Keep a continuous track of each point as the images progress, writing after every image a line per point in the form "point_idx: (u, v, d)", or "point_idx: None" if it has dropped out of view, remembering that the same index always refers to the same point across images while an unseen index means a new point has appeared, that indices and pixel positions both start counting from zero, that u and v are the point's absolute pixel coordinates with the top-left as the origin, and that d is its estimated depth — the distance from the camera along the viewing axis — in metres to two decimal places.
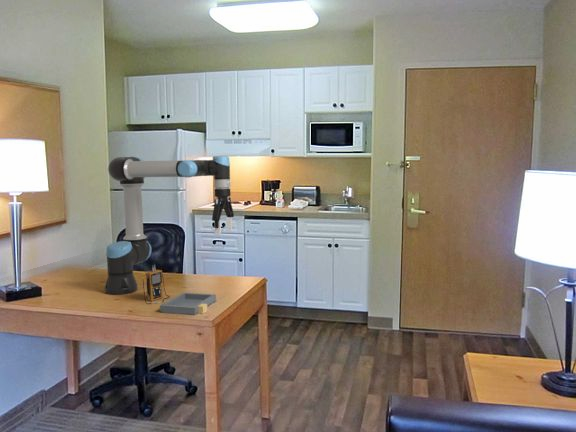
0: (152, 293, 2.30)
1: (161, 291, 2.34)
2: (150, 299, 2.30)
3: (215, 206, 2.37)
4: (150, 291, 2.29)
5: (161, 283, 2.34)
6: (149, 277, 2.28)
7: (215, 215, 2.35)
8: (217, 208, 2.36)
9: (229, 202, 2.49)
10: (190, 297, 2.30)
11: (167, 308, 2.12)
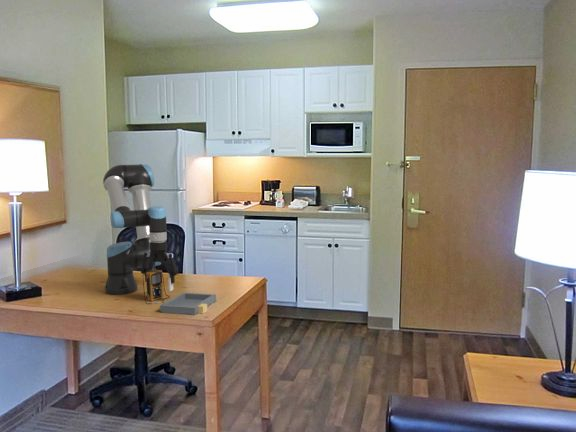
0: (152, 293, 2.30)
1: (161, 291, 2.34)
2: (150, 299, 2.30)
3: None
4: (150, 291, 2.29)
5: (161, 283, 2.34)
6: (149, 277, 2.28)
7: None
8: None
9: (169, 259, 2.27)
10: (190, 297, 2.30)
11: (167, 308, 2.12)
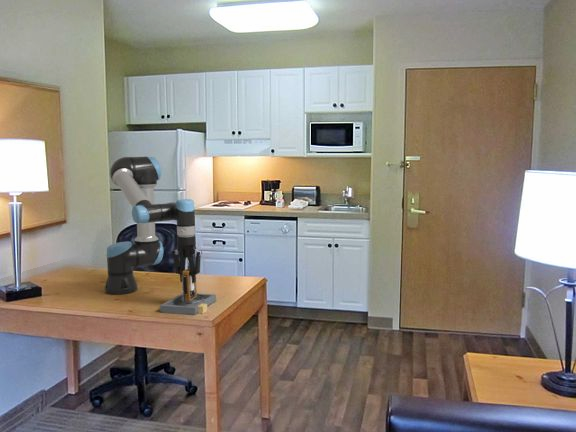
0: (189, 292, 2.18)
1: (195, 290, 2.24)
2: (187, 299, 2.18)
3: None
4: (188, 290, 2.17)
5: (195, 282, 2.23)
6: (187, 276, 2.17)
7: None
8: None
9: (196, 256, 2.16)
10: None
11: (167, 308, 2.12)
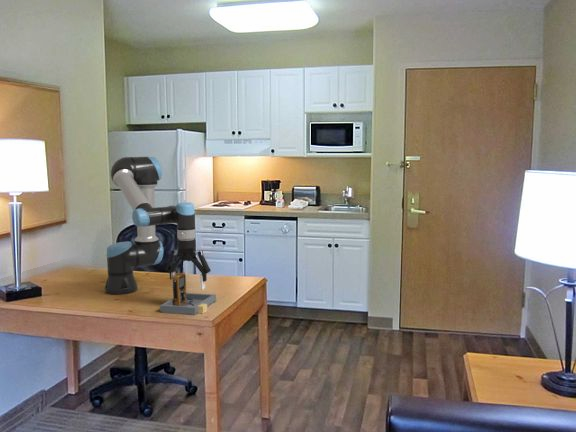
0: (179, 297, 2.20)
1: (185, 294, 2.25)
2: (177, 303, 2.20)
3: None
4: (178, 295, 2.19)
5: (185, 286, 2.25)
6: (177, 280, 2.18)
7: None
8: None
9: (198, 256, 2.16)
10: (190, 297, 2.30)
11: (167, 308, 2.12)
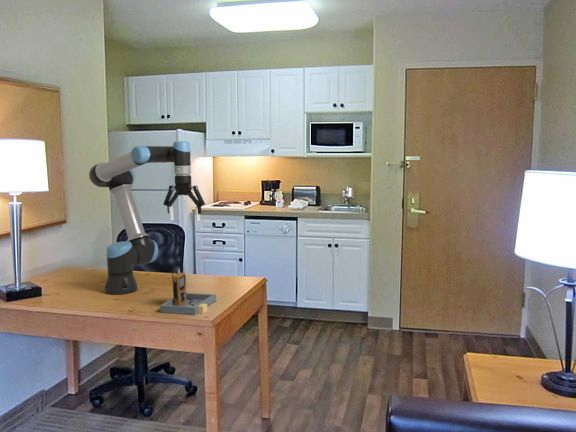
0: (179, 297, 2.20)
1: (185, 294, 2.25)
2: (177, 303, 2.20)
3: None
4: (178, 295, 2.19)
5: (185, 286, 2.25)
6: (177, 280, 2.18)
7: None
8: None
9: (194, 190, 2.35)
10: (190, 297, 2.30)
11: (167, 308, 2.12)
